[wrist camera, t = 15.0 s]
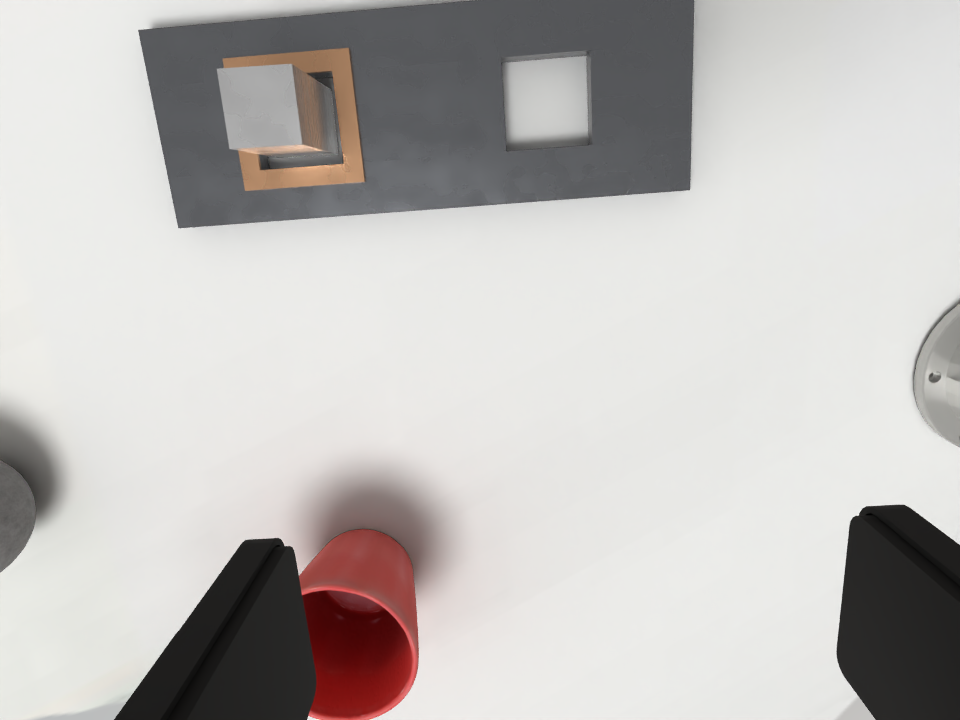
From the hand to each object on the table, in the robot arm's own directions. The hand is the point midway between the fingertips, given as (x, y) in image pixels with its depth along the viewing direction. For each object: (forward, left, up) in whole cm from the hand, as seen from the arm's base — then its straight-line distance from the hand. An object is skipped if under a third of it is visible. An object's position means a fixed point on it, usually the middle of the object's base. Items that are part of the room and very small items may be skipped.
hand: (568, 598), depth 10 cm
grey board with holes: (+5, -12, -33) cm, 36 cm away
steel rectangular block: (+13, -12, -33) cm, 38 cm away
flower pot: (+13, +22, -34) cm, 42 cm away
